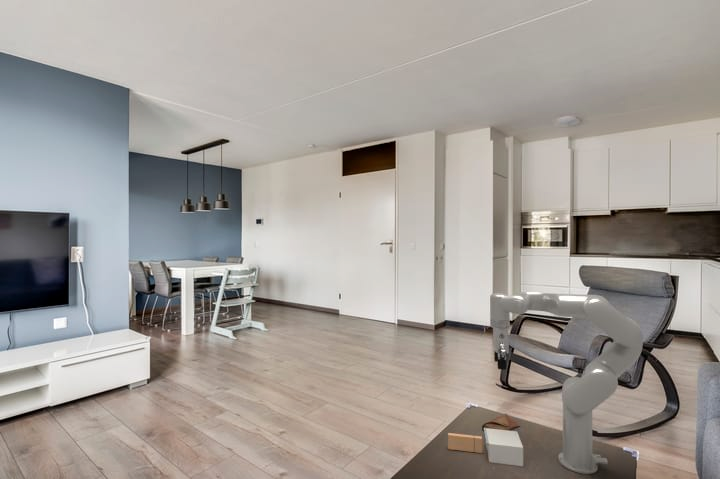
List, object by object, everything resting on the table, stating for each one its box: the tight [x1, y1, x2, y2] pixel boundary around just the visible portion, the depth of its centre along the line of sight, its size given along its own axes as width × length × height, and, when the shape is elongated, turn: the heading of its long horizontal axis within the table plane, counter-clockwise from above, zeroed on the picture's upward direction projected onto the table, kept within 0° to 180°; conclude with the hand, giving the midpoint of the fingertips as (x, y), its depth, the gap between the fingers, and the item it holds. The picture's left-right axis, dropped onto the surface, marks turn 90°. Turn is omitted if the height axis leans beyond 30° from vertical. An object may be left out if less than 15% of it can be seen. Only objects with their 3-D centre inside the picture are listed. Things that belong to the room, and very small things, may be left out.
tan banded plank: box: [447, 432, 483, 454], centre depth 148 cm, size 13×2×6 cm, turn 77°
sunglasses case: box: [481, 413, 521, 432], centre depth 166 cm, size 18×7×7 cm
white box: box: [483, 428, 524, 467], centre depth 145 cm, size 13×12×7 cm
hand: (500, 365), depth 153 cm, fingers open, 9 cm apart
